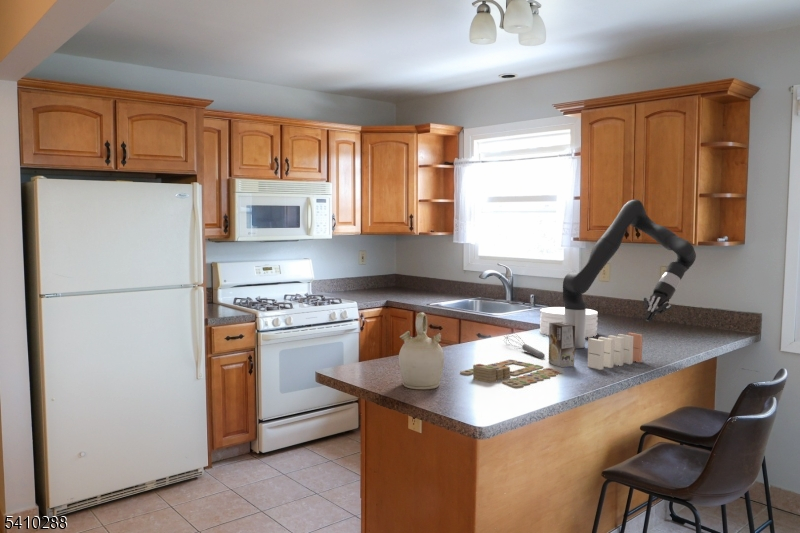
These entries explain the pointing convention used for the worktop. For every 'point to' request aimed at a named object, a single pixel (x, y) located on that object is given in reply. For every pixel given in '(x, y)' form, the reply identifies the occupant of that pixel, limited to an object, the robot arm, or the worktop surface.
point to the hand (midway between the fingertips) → (647, 320)
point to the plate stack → (558, 316)
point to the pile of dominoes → (510, 373)
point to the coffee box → (561, 344)
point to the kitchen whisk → (528, 348)
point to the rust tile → (637, 346)
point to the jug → (421, 358)
